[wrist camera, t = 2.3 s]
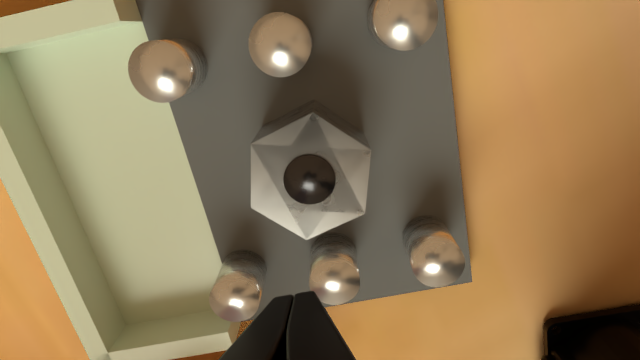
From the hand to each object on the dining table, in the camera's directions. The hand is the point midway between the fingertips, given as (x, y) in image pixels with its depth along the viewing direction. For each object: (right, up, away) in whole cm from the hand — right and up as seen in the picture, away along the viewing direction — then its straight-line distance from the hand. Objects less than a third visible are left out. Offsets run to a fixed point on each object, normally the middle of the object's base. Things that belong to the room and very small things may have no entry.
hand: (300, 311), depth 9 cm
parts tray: (-9, +2, +12) cm, 15 cm away
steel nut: (0, +4, +10) cm, 11 cm away
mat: (0, +4, +11) cm, 12 cm away
